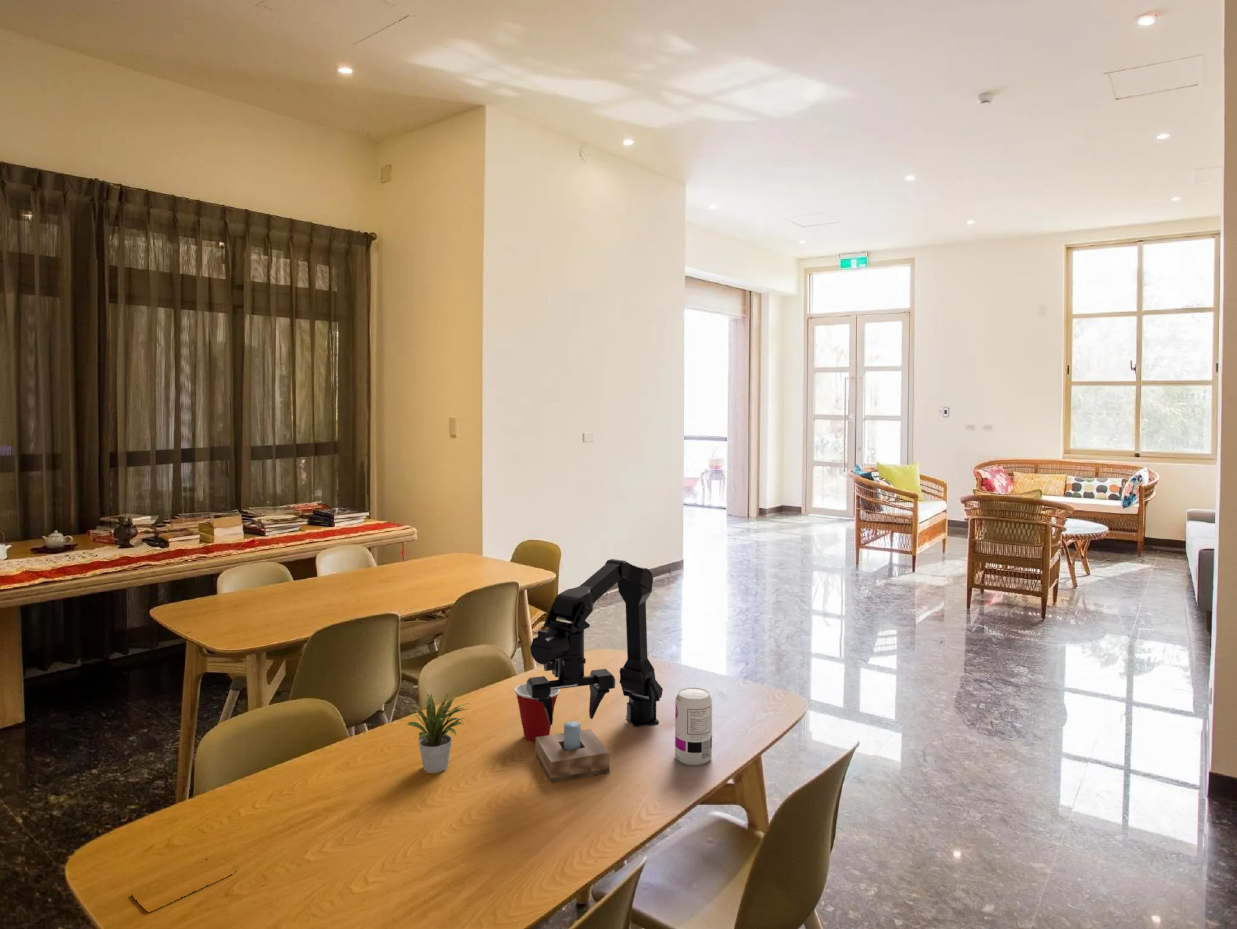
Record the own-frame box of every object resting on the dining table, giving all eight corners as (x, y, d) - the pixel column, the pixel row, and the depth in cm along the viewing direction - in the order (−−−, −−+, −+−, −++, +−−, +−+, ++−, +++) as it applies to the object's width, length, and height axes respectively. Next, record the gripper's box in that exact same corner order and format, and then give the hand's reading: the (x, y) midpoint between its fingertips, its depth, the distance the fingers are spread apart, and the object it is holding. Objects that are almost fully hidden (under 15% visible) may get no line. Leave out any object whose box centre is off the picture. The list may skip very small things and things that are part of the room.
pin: (582, 762, 170) (582, 727, 169) (566, 764, 169) (566, 729, 168) (577, 754, 174) (577, 720, 173) (561, 757, 172) (562, 722, 171)
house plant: (452, 789, 160) (450, 712, 159) (390, 782, 163) (388, 707, 162) (478, 758, 174) (477, 687, 173) (420, 752, 177) (419, 683, 175)
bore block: (590, 747, 180) (590, 728, 179) (609, 772, 167) (609, 752, 167) (535, 756, 175) (535, 737, 175) (551, 782, 163) (551, 762, 163)
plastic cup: (569, 738, 185) (569, 689, 184) (530, 750, 178) (530, 700, 177) (544, 723, 193) (544, 676, 192) (506, 734, 186) (505, 686, 185)
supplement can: (669, 761, 173) (669, 696, 171) (683, 747, 180) (684, 684, 179) (703, 769, 169) (704, 702, 168) (716, 754, 176) (717, 690, 175)
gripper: (599, 636, 180) (599, 702, 181) (520, 645, 173) (520, 713, 175) (616, 651, 169) (615, 720, 171) (532, 660, 163) (533, 732, 164)
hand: (571, 721), depth 170 cm, fingers open, 9 cm apart
